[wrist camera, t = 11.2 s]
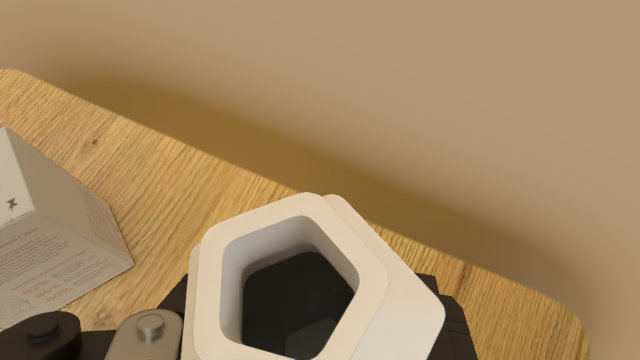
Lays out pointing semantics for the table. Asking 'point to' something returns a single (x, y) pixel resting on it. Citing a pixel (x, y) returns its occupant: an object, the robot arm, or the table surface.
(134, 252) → the table surface
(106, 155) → the table surface
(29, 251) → the small box
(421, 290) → the cream faceted vase
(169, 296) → the robot arm
